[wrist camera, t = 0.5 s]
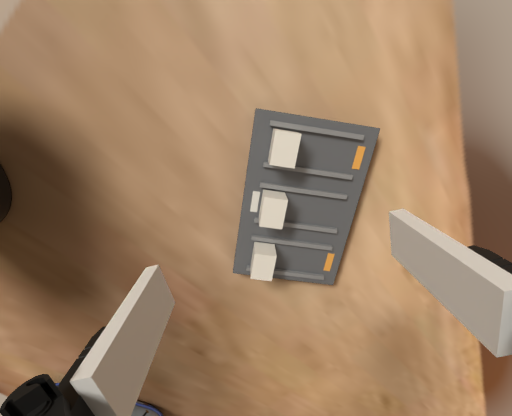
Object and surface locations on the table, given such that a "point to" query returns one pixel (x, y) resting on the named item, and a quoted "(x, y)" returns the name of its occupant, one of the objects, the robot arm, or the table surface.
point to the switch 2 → (284, 148)
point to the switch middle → (272, 209)
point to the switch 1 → (263, 261)
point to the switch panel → (305, 194)
